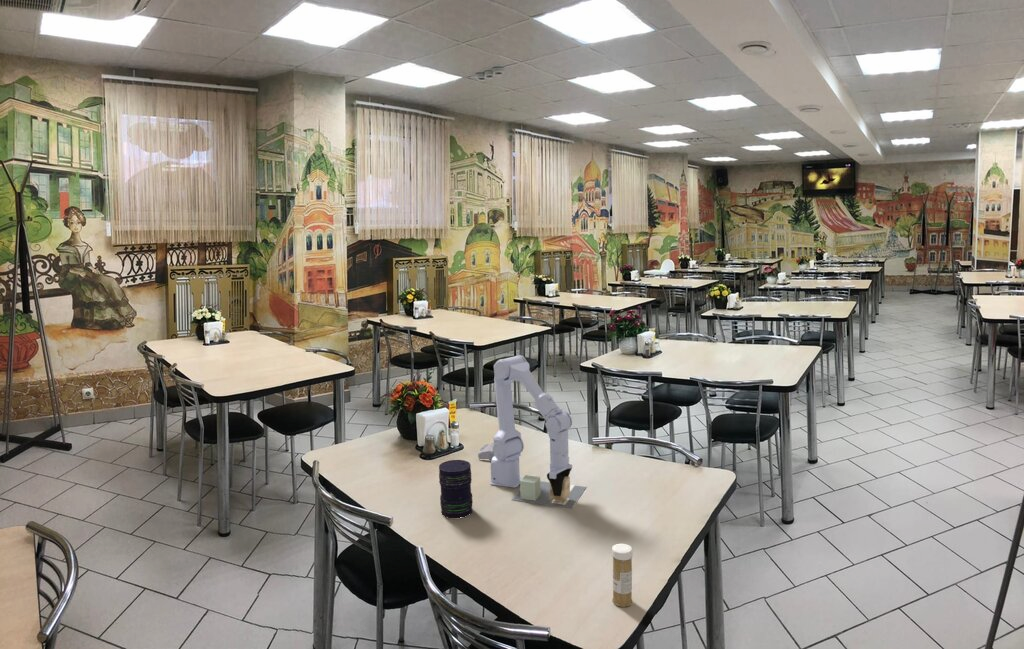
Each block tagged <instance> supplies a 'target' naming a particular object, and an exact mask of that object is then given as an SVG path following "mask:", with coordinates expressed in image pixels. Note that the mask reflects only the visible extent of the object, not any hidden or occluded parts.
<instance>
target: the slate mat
mask: <svg viewBox="0 0 1024 649" xmlns="http://www.w3.org/2000/svg"><path fill="white" fill-rule="evenodd" d="M586 489H587V486H580V485H575V484H570V495H569V497H568V498H567V500H566V501H561V500H554V499H550V482H549V481H541V480H540V493H541V495H540V496H539V497H538V498H537V499H536V501H533V500H525V499H521V494H520V490H519V491H518V493H517V492H516V494H515V496H514V497H512V498H511V501H516V502H520V503H522V502H523V503H530V504H537V505H544V506H550V507H559V508H560V507H561V508H566V509H573V508H574V506H576V503H577V502H578V500H579V498H580V497H581V496H582V494H583V493H584V491H585V490H586Z"/></svg>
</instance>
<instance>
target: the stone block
mask: <svg viewBox="0 0 1024 649" xmlns="http://www.w3.org/2000/svg"><path fill="white" fill-rule="evenodd" d="M493 444H494V442H492V443H488V444H483V446H482V447H481V448H480V449H479V451H478V452H477V457H478V459H479V460H480V459H489V460H492V458H493V457H494V456H495V455H494V453H493Z"/></svg>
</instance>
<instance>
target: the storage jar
mask: <svg viewBox="0 0 1024 649" xmlns="http://www.w3.org/2000/svg"><path fill="white" fill-rule="evenodd" d="M471 467H472V465H471V463H470V462H469V461H467V460H463V459H451V460H446V461H444V462H441V463H440V464H439V466H438V472H439V474H438V479H439V480H438V482H439V486H440V497H439V500H440V509H441V510H440V511H441V512H440V514H441V513H442V514H441V516H442V515H444V516H445V517H444V516H443V517H444V518H446V517H448V518H447V519H450V518H460V517H464V518H466V517H465V516H467V515H469V514H470V515H471V514H472V513H473V510H474V509H473V503H474V502H473V493H472V490H471V489H472V486H471V485H472V484H471V483H472V470H471V469H472V468H471ZM470 515H469V516H470ZM467 517H468V516H467ZM460 519H461V518H460Z"/></svg>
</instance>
